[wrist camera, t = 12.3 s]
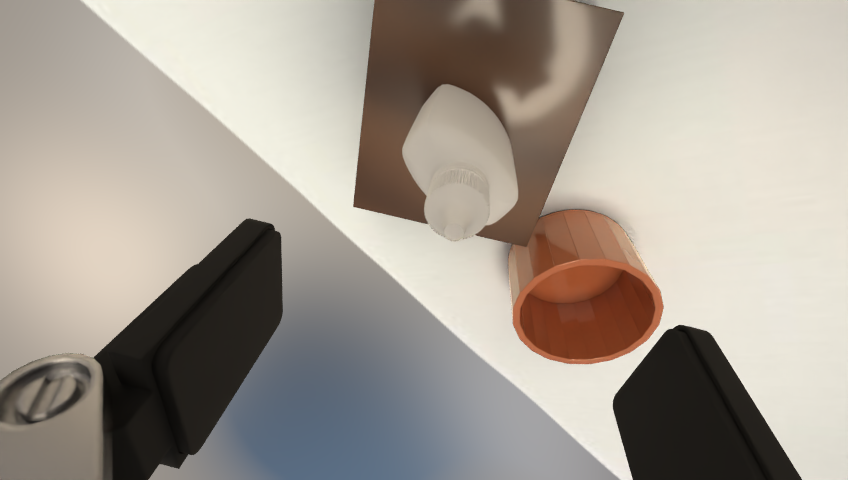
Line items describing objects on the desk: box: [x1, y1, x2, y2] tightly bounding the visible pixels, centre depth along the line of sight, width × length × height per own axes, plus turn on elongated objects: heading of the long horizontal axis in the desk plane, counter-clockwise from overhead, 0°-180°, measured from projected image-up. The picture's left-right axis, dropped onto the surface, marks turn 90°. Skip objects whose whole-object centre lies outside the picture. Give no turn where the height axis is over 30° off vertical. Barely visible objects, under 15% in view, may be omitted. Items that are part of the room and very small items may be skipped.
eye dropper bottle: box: [402, 84, 518, 241], centre depth 18 cm, size 4×6×12 cm
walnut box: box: [353, 0, 624, 247], centre depth 25 cm, size 14×12×4 cm
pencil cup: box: [508, 210, 663, 364], centre depth 29 cm, size 10×10×6 cm
